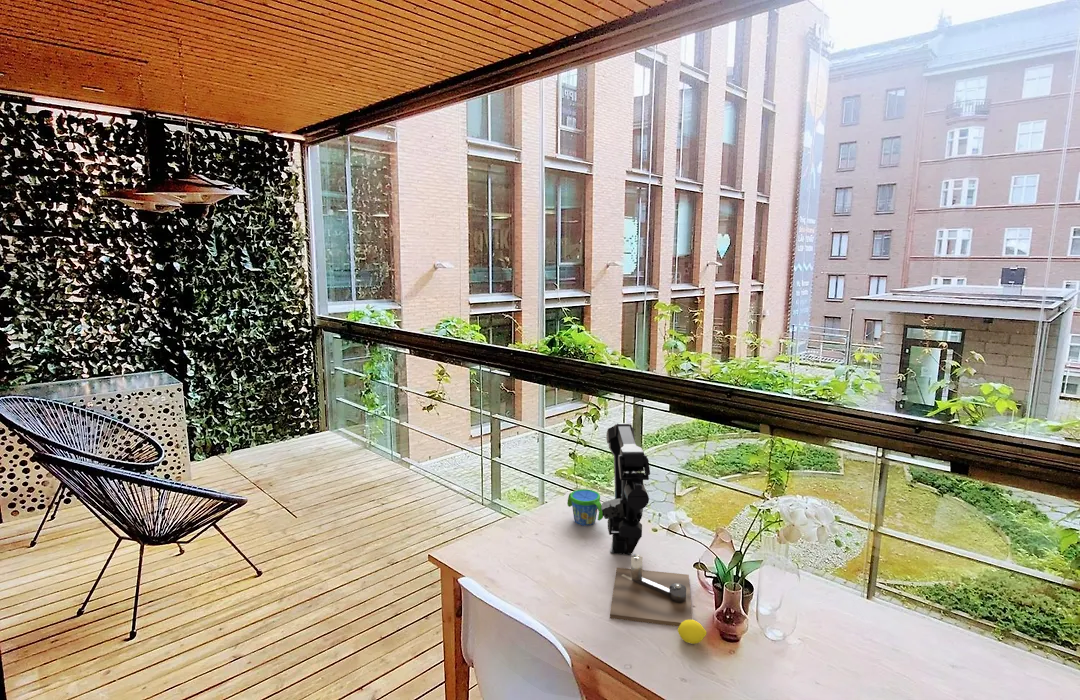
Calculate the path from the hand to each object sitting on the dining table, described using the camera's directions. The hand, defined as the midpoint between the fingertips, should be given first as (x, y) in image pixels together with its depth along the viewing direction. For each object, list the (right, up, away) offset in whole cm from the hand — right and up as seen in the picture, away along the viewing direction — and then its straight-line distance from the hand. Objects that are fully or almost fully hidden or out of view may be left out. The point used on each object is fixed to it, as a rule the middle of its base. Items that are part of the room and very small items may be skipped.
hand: (630, 544), depth 163 cm
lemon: (+11, -16, -23) cm, 30 cm away
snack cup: (-10, -6, +40) cm, 41 cm away
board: (+5, -13, -5) cm, 15 cm away
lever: (+7, -11, -4) cm, 14 cm away
